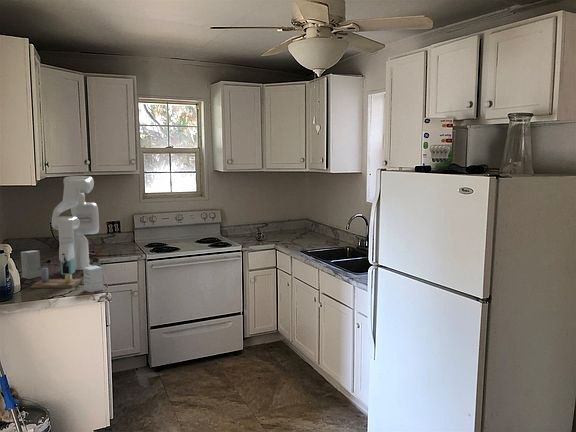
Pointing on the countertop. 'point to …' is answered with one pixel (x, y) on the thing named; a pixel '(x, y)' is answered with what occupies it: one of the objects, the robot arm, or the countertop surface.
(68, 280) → the brass post
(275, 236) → the countertop surface
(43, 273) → the dark steel post
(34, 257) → the skincare box
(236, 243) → the countertop surface
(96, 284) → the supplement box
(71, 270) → the turquoise block
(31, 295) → the countertop surface
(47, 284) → the walnut base board
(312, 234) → the countertop surface
